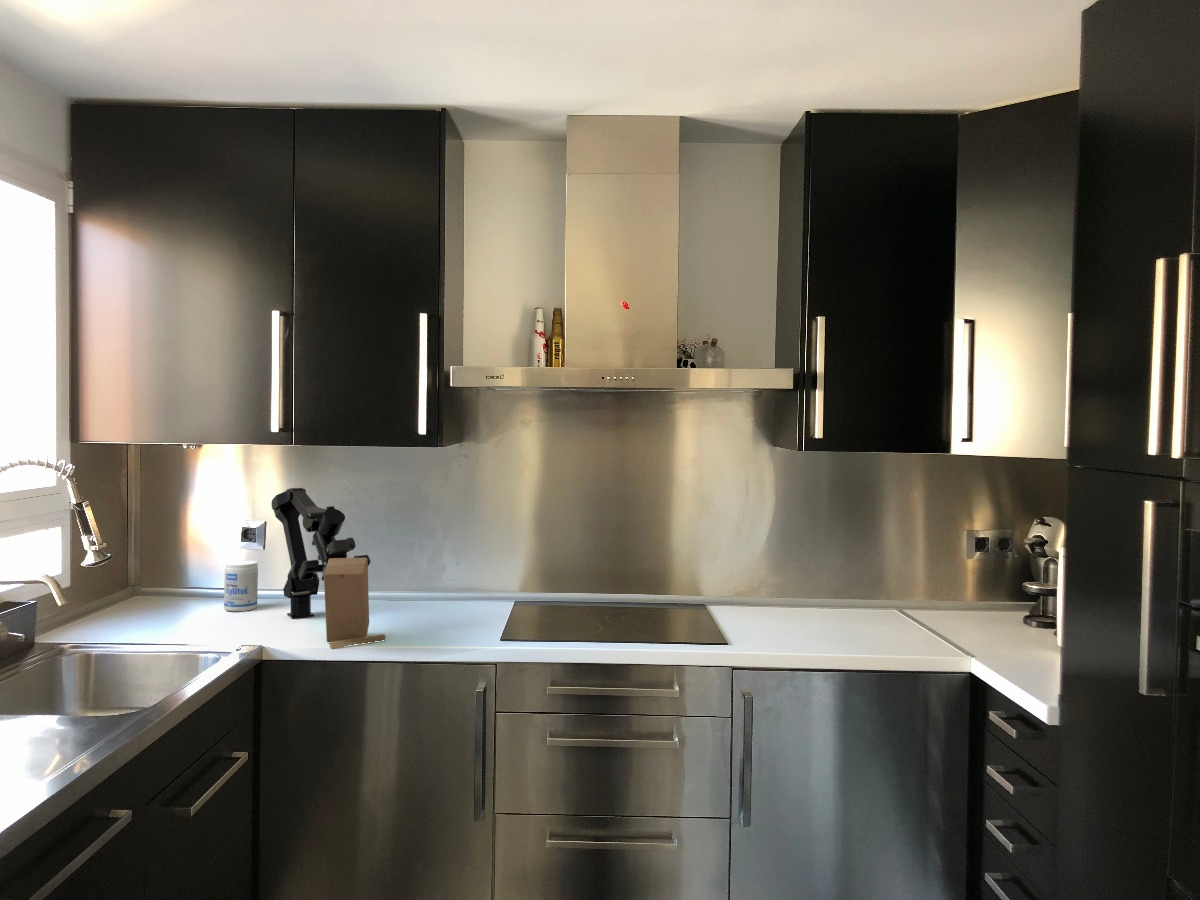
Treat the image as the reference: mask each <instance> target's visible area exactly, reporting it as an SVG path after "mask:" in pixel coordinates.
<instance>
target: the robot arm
mask: <svg viewBox="0 0 1200 900" xmlns="http://www.w3.org/2000/svg"><path fill="white" fill-rule="evenodd" d="M271 509H272V510H273V512H274V515H275V518H276V519H277V520H278V521H279V522H280V523H281V524H282V526H283V532H284V537H285V541H286V546H287V550H288V556H289V561H290V569H289V571H288V574H287V580H286V582H285V584H284V587H283V596H284V597H286V598H288V599H290V612H287V613H286V616H288V617H289V616H290V617H289V618H291V619H292V618H293V619H299V618H298V617H302V618H308V617H307V616H310V617H314V616H315V614H314V613H313V612H311V611H312V609H311V608H312V605H311V604H312V600H311V599H312V598H311V597H312V596H314V595H315V596H316V595H318V592H319V587H320V579H321V581H323V582H324V573H325V570H326V567H327V564H328V560H329V559H330V558H348V552H351V551H353V550H355V548H356V547H357V546H356V545H357V544H356V542H355V538H353V537H347V538H346V539H345V538H344V539H336V537H335V536H337V535H339V534H340V531H341V530H342V529H341V528H342V526H343V524H344V522H345V520H346V515H345V514H344V513H343V512H342V511H341V510H339V509H337V508H335V506H333V505H329V506H326V508H323V507H319V506H317V504H316V503H315V502H314V501H313V500H312V499H311V497H310V496H309V495H308V494H307V491H306V489H305V488H303V487H289V488H287V489H286V490H284V491H283V492H281V493H278V494H276V495H275V496H274V497H273V498H272V499H271ZM300 516H301V517H302V526H303V529H304V530H305V531H306V532H307V533H313V535H312V541H311V546H315V548H316V551H317V554H318V555H317V559H308V557H307V552H306V549H305V543H304V539H303V534H302V529H301V525H300V520H299V518H300ZM353 558H367V559H368V567H369V565H370V564H371V562H372V561H371V558H370V556H369V555H368V554H359V555H353ZM319 561H320V562H321V564H320V562H319ZM319 573H321V575H322V577H321V578H319V576H318V574H319Z"/></svg>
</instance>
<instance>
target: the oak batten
mask: <svg viewBox="0 0 1200 900" xmlns="http://www.w3.org/2000/svg"><path fill="white" fill-rule="evenodd" d="M382 640H385V641H386V635H385V634H383V633H382V634H375V635H369V636H368V635H367V637H360V638H353V639H346V640H339V641H332V642H330V643H329V648H330V649H331V650H334V649H340V648H341V649H343V648H345V647H344V646H348V645H354V644H362V643H368V642H375V641H382ZM382 642H383V641H382ZM375 643H376V642H375ZM368 644H369V643H368ZM362 645H363V644H362ZM348 647H349V646H348Z"/></svg>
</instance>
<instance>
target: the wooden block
mask: <svg viewBox="0 0 1200 900" xmlns="http://www.w3.org/2000/svg"><path fill="white" fill-rule="evenodd" d="M368 567H369V566H368V559H367V558H354V557H347V558H330V559H329V560H328V564H327V567H326V570H325V573H324V581H323V588H324V609H325V610H324V611H325V631H326V642H332V641H339V640H346V639H353V638H360V637H367V636H368V633H369V631H368V630H369V626H370V603H369V602H370V601H369V600H370V599H369V598H370V597H369V568H368Z"/></svg>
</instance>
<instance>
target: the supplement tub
mask: <svg viewBox="0 0 1200 900" xmlns="http://www.w3.org/2000/svg"><path fill="white" fill-rule="evenodd" d="M224 565H225V566H224V584H223V585H224V589H223V590H224V591H223V594H224V595H223V608H224V610H225V611H227V612H231V611H241V612H248V611H247V610H249V611H252V609H253V610H255V609H256V608H257V607H258V598H259V597H258V593H259V592H258V588H259V587H258V585H259V582H258V581H259V580H258V579H259V566H258V565H259V563H258V561H256V560H234V561H228V562H226V563H225V564H224Z"/></svg>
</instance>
